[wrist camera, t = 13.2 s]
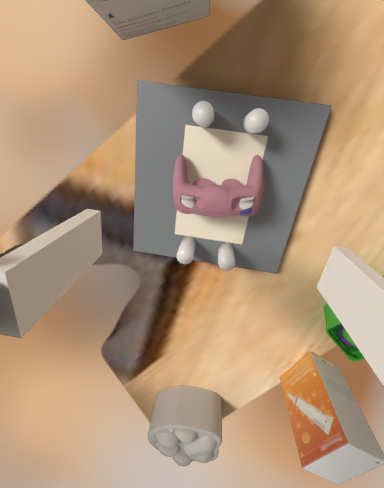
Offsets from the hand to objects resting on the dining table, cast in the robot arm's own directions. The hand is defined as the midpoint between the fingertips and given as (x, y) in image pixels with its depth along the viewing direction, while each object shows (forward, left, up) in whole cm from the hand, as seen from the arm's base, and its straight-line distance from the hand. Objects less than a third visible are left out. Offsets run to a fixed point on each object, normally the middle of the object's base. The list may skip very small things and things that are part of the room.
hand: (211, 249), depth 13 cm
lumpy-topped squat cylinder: (+2, -44, -18) cm, 47 cm away
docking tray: (0, 0, -18) cm, 18 cm away
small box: (+21, -29, -18) cm, 40 cm away
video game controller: (0, +1, -17) cm, 17 cm away
